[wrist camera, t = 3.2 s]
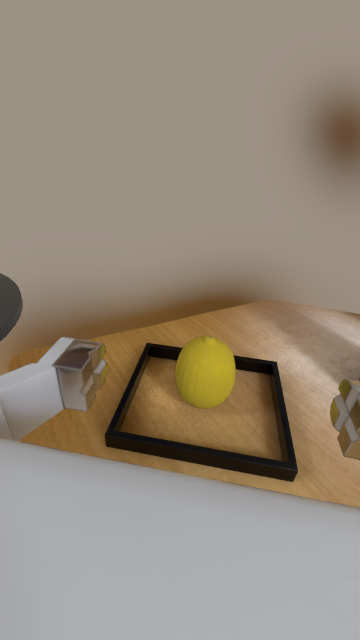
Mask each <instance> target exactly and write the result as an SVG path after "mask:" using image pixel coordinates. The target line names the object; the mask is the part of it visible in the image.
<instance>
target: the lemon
mask: <svg viewBox="0 0 360 640" xmlns="http://www.w3.org/2000/svg"><path fill="white" fill-rule="evenodd" d="M235 375H236V367H235V361H234V356H233V353H232V352H231V350H230V348H229V347H228V346H227V345H226V344H225V343H224V342H223V341H221V340H220V339H218V338H215V337H212V336H201V337H197V338H195V339H192V340H191V341H190V342H188V343H187V344H186V345H185V346H184V347H183V349H182V350H181V352H180V354H179V357H178V360H177V363H176V368H175V380H176V386H177V389H178V391H179V393H180V395H181V396H182V398H183V399H184V400H185V401H186V402H187V403H189V404H190V405H192V406H194V407H197V408H201V409H208V408H213V407H215V406H218V405H219V404H221V403H222V402H223V401H225V400H226V398H227V397H228V395H229V394H230V392H231V391H232V388H233V386H234V381H235Z"/></svg>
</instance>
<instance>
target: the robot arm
mask: <svg viewBox="0 0 360 640" xmlns="http://www.w3.org/2000/svg"><path fill="white" fill-rule="evenodd" d="M105 353H106V351H105V345H104V344H103V343H98V342H93V341H87V340H80V339H74V338H67V337H62V338H60V339H59V340H58V341H57V342H56V343H55V344H54V345H53V346H52V347H51V348H50V349H49V350H48V351H47V352H46V354H45V355H44V356H43V357H42V358H41V359H40V360H39V361H38V362H37V363H36V364H35V363H31V364H28V365H26V366H23V367H21V368H18V369H16V370H13V371H11V372H8V373H6V374H3V375H1V376H0V640H360V508H359V507H354V506H349V505H343V504H338V503H333V502H328V501H323V500H318V499H312V498H307V497H302V496H297V495H292V494H287V493H281V492H276V491H271V490H266V489H261V488H256V487H250V486H245V485H240V484H235V483H230V482H225V481H219V480H214V479H209V478H204V477H199V476H194V475H189V474H183V473H178V472H173V471H168V470H163V469H158V468H152V467H147V466H142V465H137V464H132V463H127V462H121V461H116V460H111V459H106V458H101V457H96V456H90V455H85V454H80V453H75V452H70V451H65V450H59V449H54V448H49V447H44V446H39V445H34V444H28V443H23V442H18V441H19V440H20V439H22V438H23V437H25V436H26V435H28V434H29V433H31V432H32V431H33V430H35V429H36V428H38V427H39V426H41V425H42V424H44V423H45V422H46V421H48V420H49V419H51V418H52V417H54V416H55V415H57V414H58V413H59V412H61V411H62V410H64V408H67V409H74V410H81V411H87V412H88V410H89V408H90V407H91V405H92V403H93V401H94V400H95V398H96V394H95V391H97V390H99V389H100V388H101V387H102V386H103V384H104V382H105V378H106V375H107V363H106V361H105V360H104V359H103V356H104V355H105ZM339 391H340V393H341V394H340V395H338V396H336V397H335V398H334V399H333V401H332V404H331V410H330V416H331V421H332V424H333V427H334V428H335V429H336V430H337V431H339V432H340V434H339V436H338V438H337V439H338V441H339V444H340V447H341V450H342V452H343V455H344V457H348V458H353V459H358V460H360V381H355V380H348V379H344V380H343V381H342V382H341V384H340V386H339Z"/></svg>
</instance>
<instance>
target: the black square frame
mask: <svg viewBox="0 0 360 640" xmlns="http://www.w3.org/2000/svg"><path fill="white" fill-rule="evenodd" d="M182 349H183V348H179V347H172V346H166V345H159V344H152V343H147V344H146V346H145V348H144V351H143V353H142V355H141V357H140V359H139V362H138V364H137V366H136V368H135V370H134V372H133V375H132V377H131V379H130V381H129V383H128V386H127V388H126V390H125V392H124V394H123V396H122V399H121V401H120V403H119V405H118V407H117V410H116V412H115V414H114V416H113V418H112V420H111V423H110V425H109V427H108V430H107V431H106V434H105V441H106V446H107V447H112V448H117V449H122V450H128V451H133V452H138V453H143V454H149V455H154V456H159V457H164V458H170V459H175V460H180V461H185V462H191V463H196V464H201V465H206V466H212V467H217V468H222V469H227V470H233V471H238V472H243V473H248V474H254V475H259V476H264V477H269V478H275V479H280V480H285V481H290V482H293V481H294V479H295V476H296V474H297V472H298V468H297V463H296V458H295V453H294V448H293V442H292V437H291V432H290V427H289V422H288V417H287V412H286V407H285V402H284V397H283V391H282V386H281V381H280V376H279V371H278V366H277V362H274V361H267V360H261V359H254V358H247V357H240V356H234V361H235V367H236V369H238V370H245V371H251V372H258V373H265V374H269V376H270V382H271V389H272V395H273V402H274V408H275V415H276V422H277V428H278V435H279V441H280V448H281V454H282V461H283V462H282V461H277V460H272V459H266V458H261V457H255V456H250V455H244V454H239V453H233V452H228V451H223V450H217V449H212V448H206V447H201V446H195V445H190V444H184V443H179V442H174V441H168V440H163V439H157V438H152V437H146V436H141V435H135V434H130V433H125V432H119V431H120V429H121V426H122V424H123V421H124V419H125V416H126V414H127V412H128V409H129V407H130V404H131V402H132V399H133V397H134V395H135V392H136V390H137V387H138V385H139V382H140V380H141V378H142V375H143V373H144V370H145V368H146V366H147V363H148V361H149V358H150V356H153V357H159V358H166V359H173V360H178V357H179V354H180V352H181V350H182Z"/></svg>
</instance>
